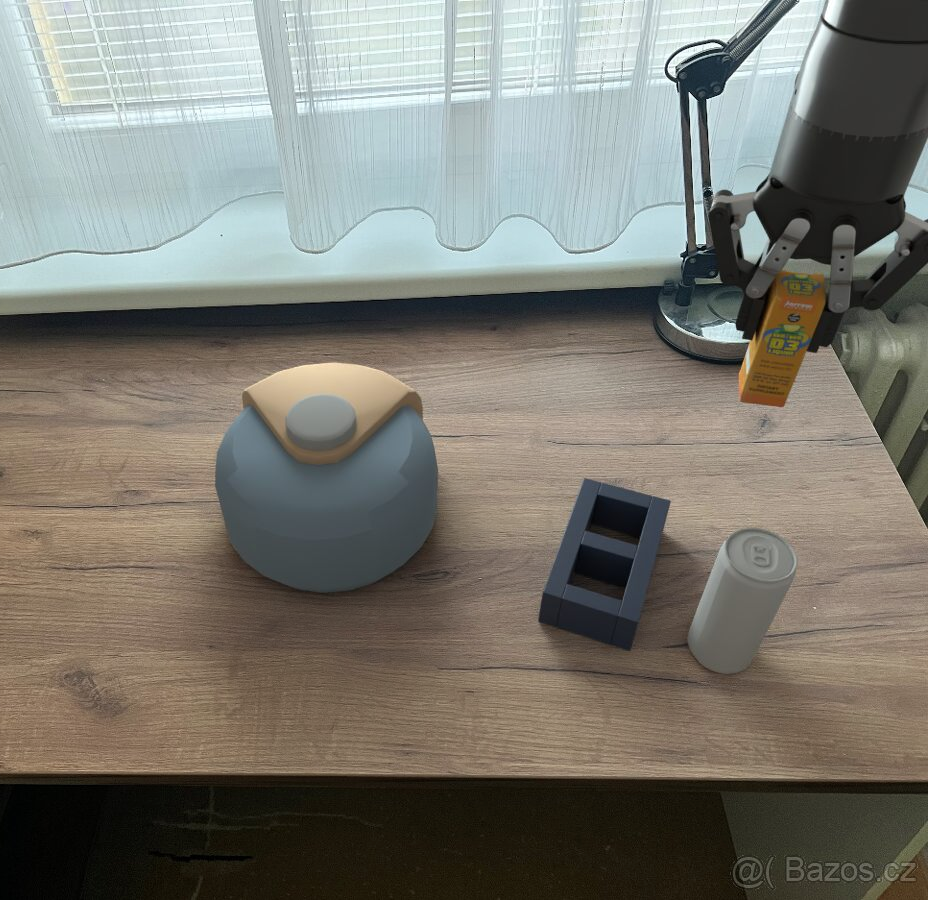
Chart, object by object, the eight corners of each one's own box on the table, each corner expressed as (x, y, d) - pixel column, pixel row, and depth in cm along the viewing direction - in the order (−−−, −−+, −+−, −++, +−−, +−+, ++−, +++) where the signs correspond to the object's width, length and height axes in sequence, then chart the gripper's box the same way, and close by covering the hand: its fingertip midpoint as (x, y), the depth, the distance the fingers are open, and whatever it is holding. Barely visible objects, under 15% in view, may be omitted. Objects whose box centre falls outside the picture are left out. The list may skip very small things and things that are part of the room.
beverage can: (751, 629, 68) (797, 532, 59) (753, 684, 65) (803, 589, 56) (685, 617, 69) (721, 520, 61) (685, 670, 66) (722, 575, 57)
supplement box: (737, 405, 65) (772, 293, 58) (737, 375, 67) (771, 265, 60) (785, 411, 64) (827, 299, 57) (785, 381, 66) (825, 270, 59)
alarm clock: (438, 435, 86) (439, 338, 77) (435, 607, 72) (436, 511, 63) (247, 433, 88) (227, 338, 80) (208, 598, 74) (180, 505, 66)
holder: (662, 530, 75) (671, 500, 73) (629, 651, 68) (638, 622, 65) (578, 507, 78) (584, 477, 75) (537, 621, 70) (542, 592, 67)
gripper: (722, 115, 50) (666, 350, 62) (1012, 146, 45) (890, 395, 57) (741, 64, 55) (685, 291, 67) (1006, 87, 50) (894, 329, 62)
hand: (780, 338), depth 62 cm, fingers closed on supplement box, 3 cm apart
